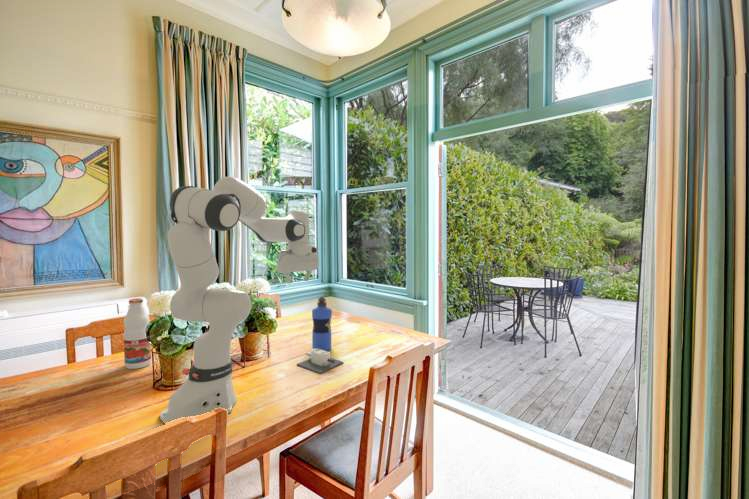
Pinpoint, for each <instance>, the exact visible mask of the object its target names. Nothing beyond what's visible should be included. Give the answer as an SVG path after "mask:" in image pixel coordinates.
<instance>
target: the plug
mask: <svg viewBox="0 0 749 499" xmlns="http://www.w3.org/2000/svg"><path fill="white" fill-rule="evenodd" d="M305 355H306V356H308V357H310V358H311V362H312V363H314V364H317V365H320V366H324V367H326V366H329V365H330V362H331V363H334V362H335V360H332V359H330V358H331V352H330V351H324V350H321V349H317V348H314V349H312V348H311V349H310V351H307V352H306V354H305Z"/></svg>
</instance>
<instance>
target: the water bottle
mask: <svg viewBox="0 0 749 499" xmlns="http://www.w3.org/2000/svg"><path fill="white" fill-rule="evenodd" d="M332 312H333V311H332V308H329V307H327V299H326V298H325V297H323V296H321V297H318V299H317V306H316V307H315V308H313V309H312V310H311V316H312V324H313V325H312V333H311V334H312V336H311V337H312V338H311V339H312V340H311V341H312V342H311V344H312V348H311V349H314V348H317V349H321V350H324V351H327V352H330V351H331V350H332V327H331V326H332V325H331V324H332V315H333V313H332Z"/></svg>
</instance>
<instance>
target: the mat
mask: <svg viewBox="0 0 749 499" xmlns="http://www.w3.org/2000/svg"><path fill="white" fill-rule="evenodd" d="M330 359H332V360H335V362H334V363H331V362H330V365H329V366H326V367H324V366H320V365H317V364H314V363H312V362H311V357H310V358H308V359H306V360H303V361H300V362H298V363H296V366H298V367H300V368H303V369H306V370H308V371H311V372H314V373H317V374H320V375H321V374H323V373H325V372H327V371H330V370H332V369H334V368H336V367H338V366H340V365H343V364H344V361H342V360H339V359H336V358H333V357H330Z"/></svg>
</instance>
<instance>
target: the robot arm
mask: <svg viewBox="0 0 749 499" xmlns="http://www.w3.org/2000/svg"><path fill="white" fill-rule="evenodd" d="M169 208H170V213H171V214H170V218H171V219H172V221H173V222H174V223H175V224H173V225H172V226H171V227H170V228H169V230H168V231H167V243H168V248H169V253H170V257H171V259H172V262H173V263H174V266H175V269H176V273H177V276H178V278H179V281H180V282H179V283H180V287H179V290H177V291H176V292H175V293H174V294H173V295H172V297H171V299H170V302H169V311H170V313H171V315H172V316H173V317H174V318H175V319H178V320H182V321H184V322H190V323H208V324H209V329H208V331H206V332H204V333H202V334H200V335H199V336H198V337H197V338H196V339H195V341H194V343H193V365H192V367H191V369H190V368H188V367H187V366H185V367H184V368H182V370H181V373H182V374H183V375H185V376H188V378H187V379H186V380H185V381H184V382H183V383H182V384H181V385H180V386H179V387H178V388H177V389H176V390H175V391H173V393H172V394H171V395H170V396H169V399H168V406H167V408H165V409H163V410H162V411H160V414H159V416H160V417H159V418H160V421H161V420H162V421H164V422H165V423H166V422H170V421H172V420H175V419H178V418H181V417H188V416H189V417H190V416H196V415H201V414H204V413H207V412H211V411H212V410H214V409H215V408H219V407H221V408H225V409H227V411H228V413H227V414H230V413H231V412H232V411H233V406H234V405H235V404H236V403H237V396H236V394H235V390H234V386H233V377H232V375H233V360H232V359H231V349H232V348H231V347H232V344H231V343H232V339H233V338H232V337H233V334H234V332H235V330H236V328H237V327H238V326H239V325H240V324H241V323H242V322H243V321H245V320H246V319H247V318H248V316H249V315H250V313H251V310H252V299H251V298H250V296H249V294H248V293H247V292H245V291H241V290H238V289H233V288H214V287H213V288H212V287H210V286H211V285H213V284H214V283H215V282H216V281H217V279H218V277H219V274H220V269H219V265H218V263H217V259H216V255H215V253H214V249H213V246H212V244H211V242H210V236H209V235H210V233H209V232H210V229H211V230H213V231H217V232H227V231H229V230H231V229H233V228H234V227H235V226H236V225H237V223H238V222H240V223H241V224H243V225H244V226H245V227H246V228H248V229H249V230H251V231H252V232H253V233H254V234H255V236H256V237H257V239H258V240H260V242H263V243H272V242H273V243H274V242H275V243H287V249H285V250H284V249H282V250H280V251H279V252H278V254H277V260H276V262H277V263H276V272H277V273H279V274H284V277H285V279H286V283H287V284H293V279H292V277H291V273H296V272H305V273H306V274H305V276H303V278H304V279H303V280H304V282H305V281H306V282H309V281H310V277H311V274H312V271H315V270H318V268H319V266H320V265H319V264H320V263H319V262H320V261H319V254H318V253H319V248H318V247H315V246H313V245H311V244H310V239H309V234H310V219H309V215H308V213H307V212H306V211H305V210H304V211H303V210H299V209H292V210H289V212H288V214H287V216H285V217H264V215H265V213H266V211H267V200H266V199H265V196H263V195H262V193H261V192H259V191H258V190H257V189H255V188H254V187H253V186H251V185H250V184H248V183H247V182H244V181H243V180H241V179H238V178H236V177H234V176H224V177H221V178H220V179H219V180H217V182H215V184H214V186H213V189H212V190H211V189H208V188H203V187H196V186H193V185H186V186H184V185H183V186H180V187H178V188H175V190H174V191H173V192H172V194H171V196H170V198H169ZM162 421H161V422H162Z"/></svg>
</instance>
